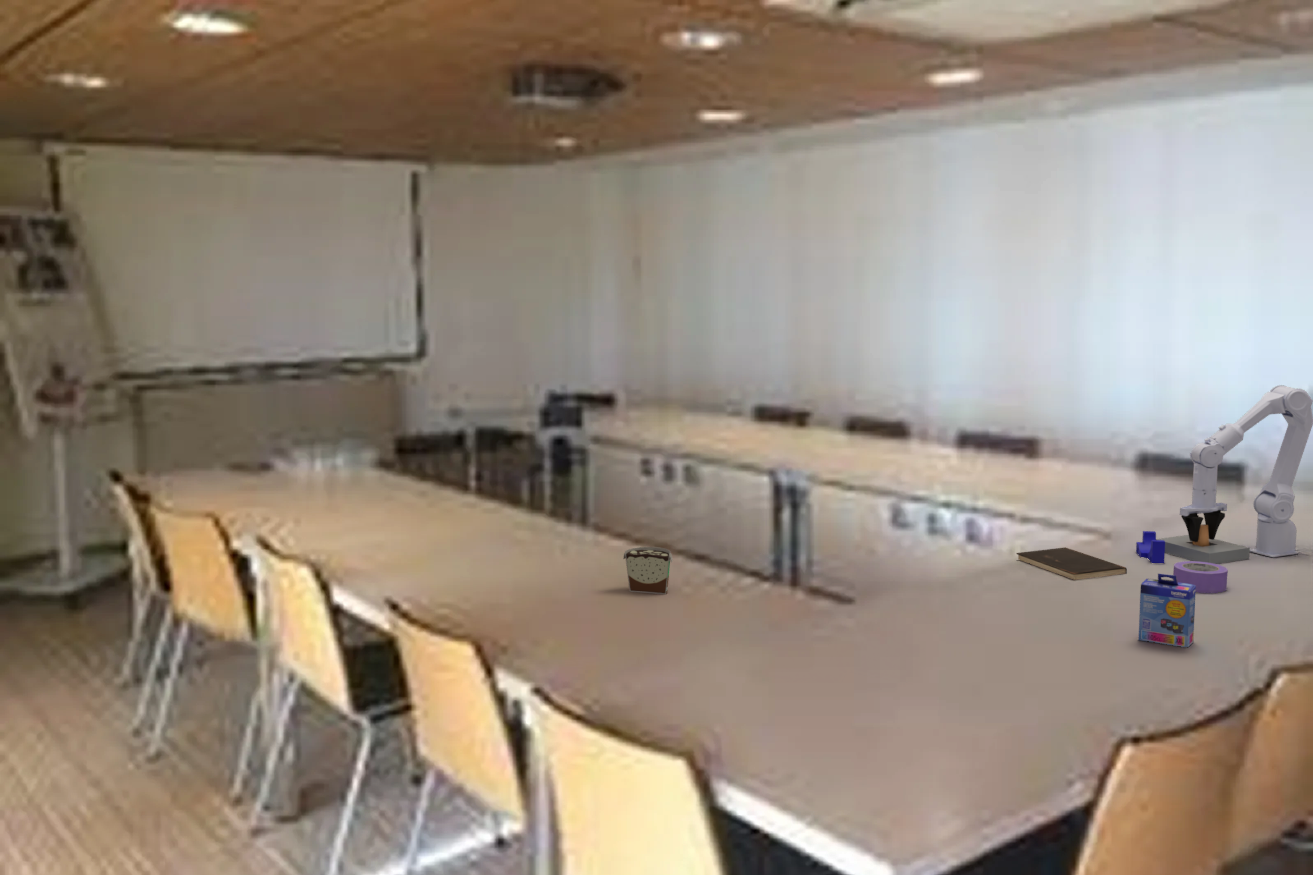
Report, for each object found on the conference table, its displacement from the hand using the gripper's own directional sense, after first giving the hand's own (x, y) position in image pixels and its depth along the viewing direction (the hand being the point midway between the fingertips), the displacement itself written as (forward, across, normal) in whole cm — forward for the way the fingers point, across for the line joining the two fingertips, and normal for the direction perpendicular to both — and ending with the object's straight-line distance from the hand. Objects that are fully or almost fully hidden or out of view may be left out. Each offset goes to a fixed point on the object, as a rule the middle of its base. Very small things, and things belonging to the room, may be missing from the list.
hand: (1202, 540), depth 322 cm
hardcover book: (+5, -39, +6) cm, 39 cm away
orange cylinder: (+3, 0, 0) cm, 3 cm away
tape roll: (+4, -25, -23) cm, 34 cm away
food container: (+4, -143, +33) cm, 147 cm away
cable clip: (+4, -14, +3) cm, 15 cm away
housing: (+4, 0, 0) cm, 4 cm away
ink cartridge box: (+4, -64, -51) cm, 82 cm away
